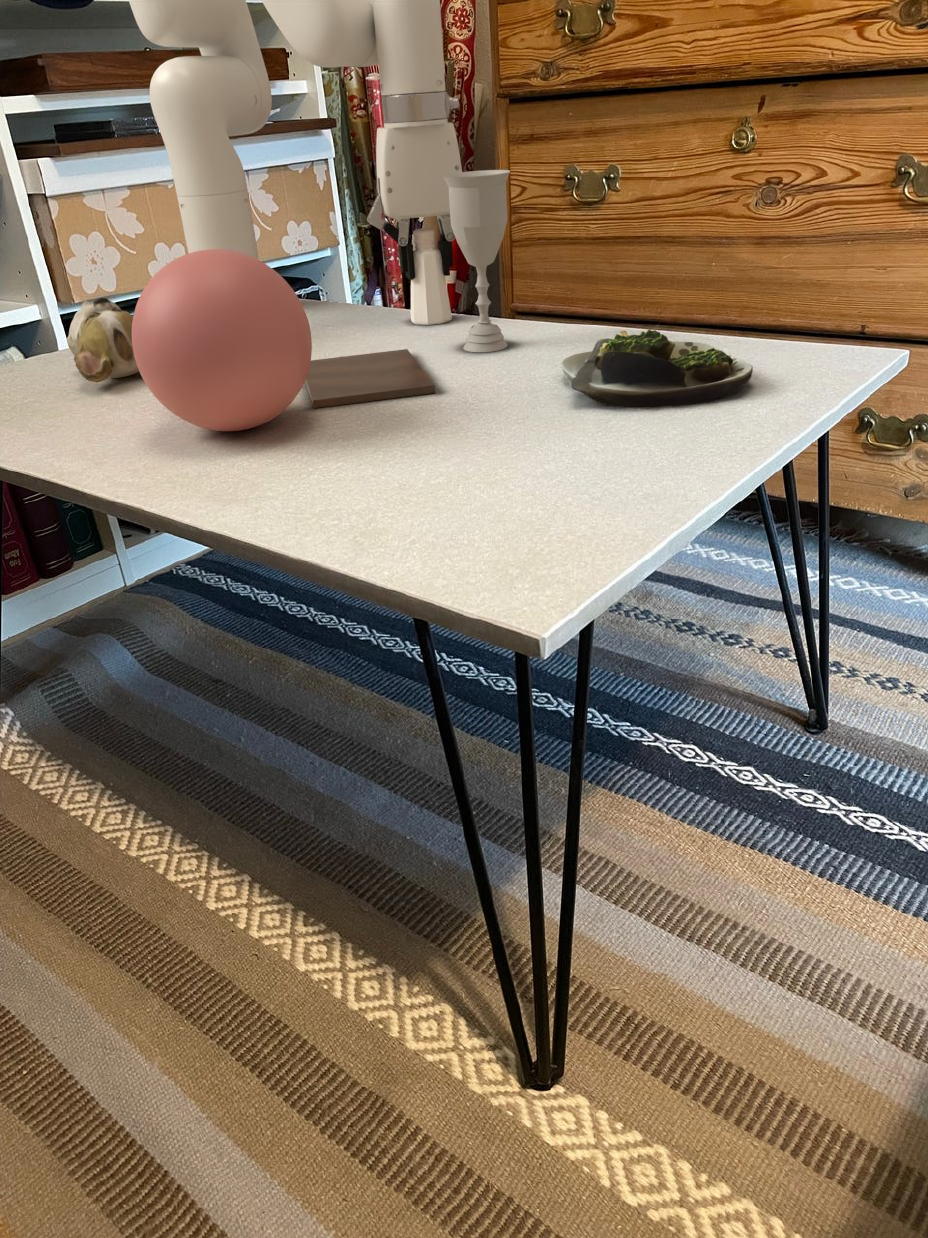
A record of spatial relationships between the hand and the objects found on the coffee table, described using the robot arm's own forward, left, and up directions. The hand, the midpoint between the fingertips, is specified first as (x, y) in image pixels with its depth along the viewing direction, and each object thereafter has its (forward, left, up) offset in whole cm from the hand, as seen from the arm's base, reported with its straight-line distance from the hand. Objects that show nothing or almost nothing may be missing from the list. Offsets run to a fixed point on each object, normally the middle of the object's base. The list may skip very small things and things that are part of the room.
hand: (427, 274), depth 120 cm
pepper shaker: (0, 0, -6) cm, 6 cm away
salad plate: (+39, +14, -6) cm, 42 cm away
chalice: (+17, +3, -6) cm, 18 cm away
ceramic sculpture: (+10, -38, -6) cm, 40 cm away
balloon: (+34, -26, -6) cm, 43 cm away
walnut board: (+25, -12, -6) cm, 28 cm away
